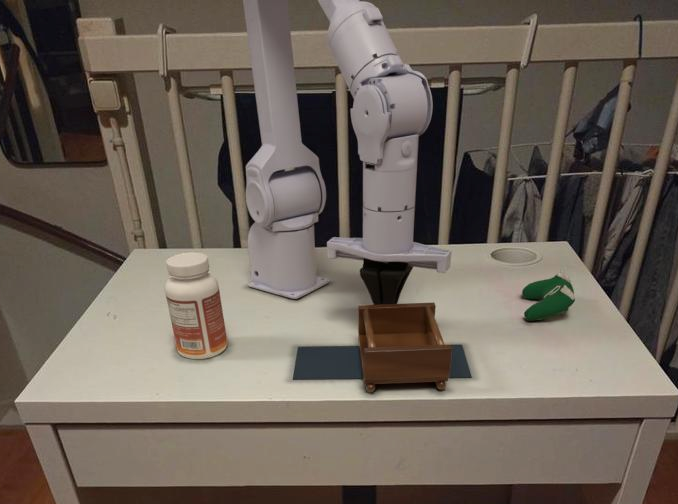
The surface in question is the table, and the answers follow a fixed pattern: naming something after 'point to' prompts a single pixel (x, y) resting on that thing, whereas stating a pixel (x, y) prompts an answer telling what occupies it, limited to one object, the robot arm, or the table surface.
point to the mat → (354, 363)
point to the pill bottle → (195, 306)
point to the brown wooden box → (402, 345)
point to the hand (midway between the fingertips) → (385, 321)
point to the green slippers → (549, 297)
